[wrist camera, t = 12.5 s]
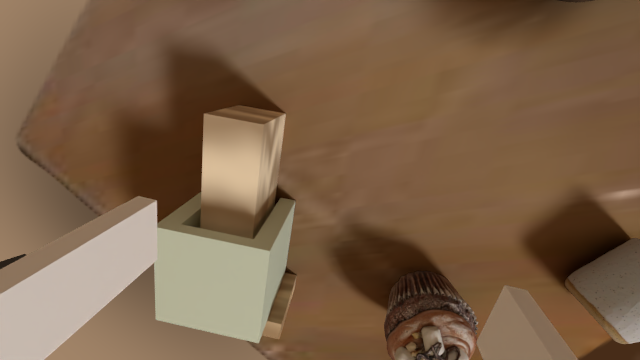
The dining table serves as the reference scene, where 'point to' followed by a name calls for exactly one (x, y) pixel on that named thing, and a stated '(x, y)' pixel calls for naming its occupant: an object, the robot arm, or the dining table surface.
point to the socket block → (220, 272)
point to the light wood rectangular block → (240, 168)
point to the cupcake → (428, 320)
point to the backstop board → (280, 307)
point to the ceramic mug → (612, 291)
